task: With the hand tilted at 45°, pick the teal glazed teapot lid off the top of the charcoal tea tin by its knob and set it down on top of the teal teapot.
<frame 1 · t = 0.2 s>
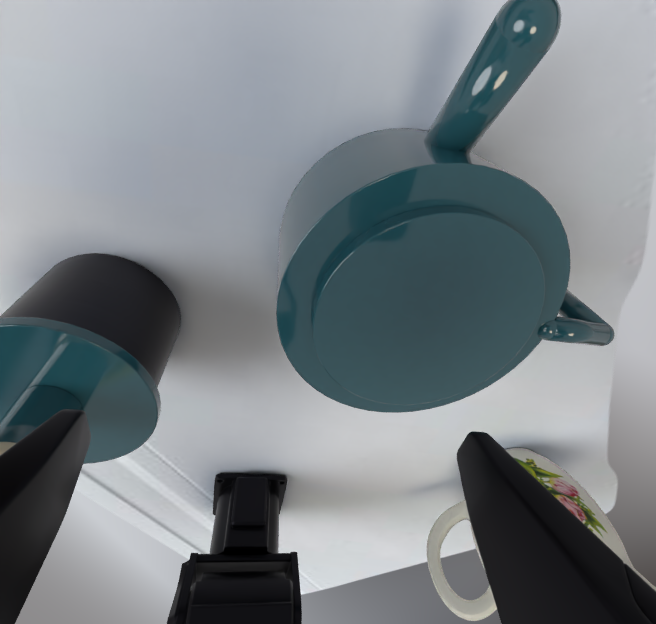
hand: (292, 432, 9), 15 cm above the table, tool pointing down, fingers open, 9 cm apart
tea tin: (113, 311, 24), on the table
teapot: (387, 246, 23), on the table
pitcher: (493, 468, 38), on the table
teapot lid: (58, 395, 18), point 7 cm above the table, touching tea tin
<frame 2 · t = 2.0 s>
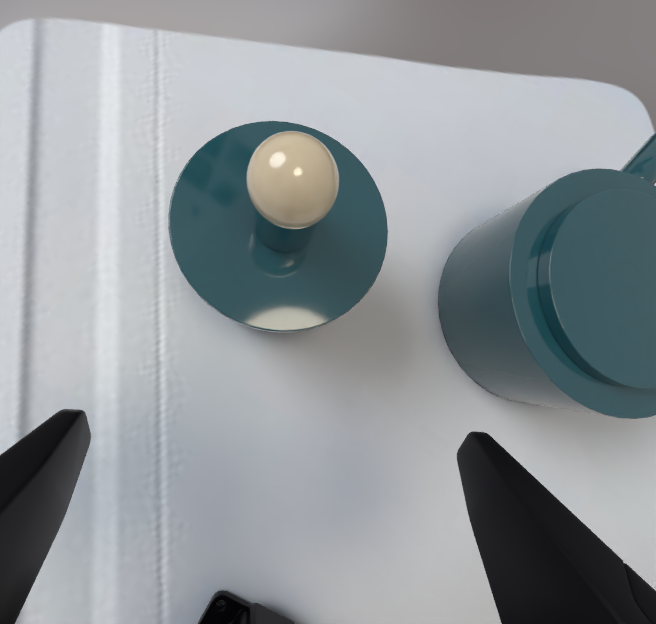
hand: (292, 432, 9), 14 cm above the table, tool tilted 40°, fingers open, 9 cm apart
teapot: (524, 307, 26), on the table
teapot lid: (283, 227, 16), point 7 cm above the table, touching tea tin
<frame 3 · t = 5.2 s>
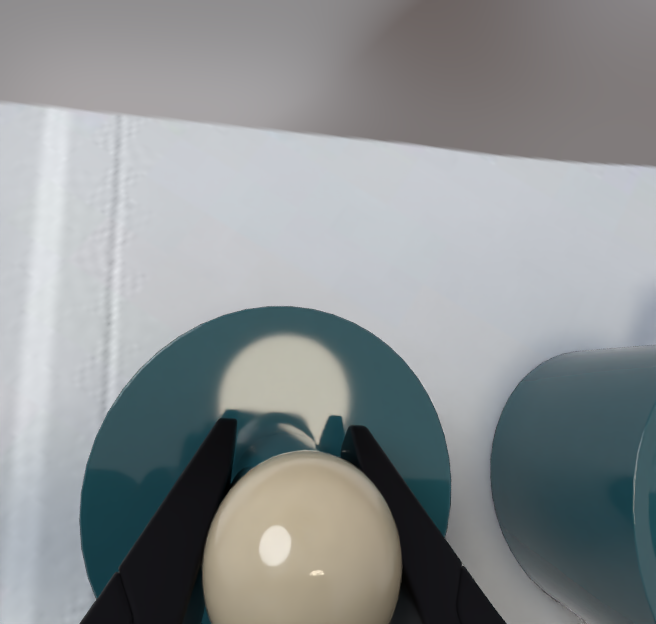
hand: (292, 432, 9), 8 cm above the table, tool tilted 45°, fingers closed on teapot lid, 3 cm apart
teapot: (601, 474, 20), on the table
teapot lid: (281, 480, 10), point 7 cm above the table, touching gripper, tea tin
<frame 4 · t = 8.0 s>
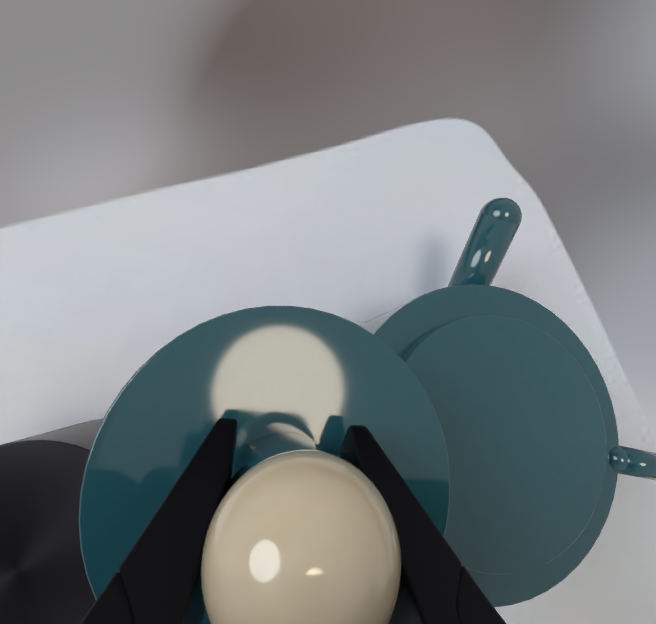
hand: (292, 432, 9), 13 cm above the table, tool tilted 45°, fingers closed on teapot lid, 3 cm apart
tea tin: (101, 501, 19), on the table
teapot: (416, 417, 23), on the table
teapot lid: (280, 479, 10), point 11 cm above the table, touching gripper
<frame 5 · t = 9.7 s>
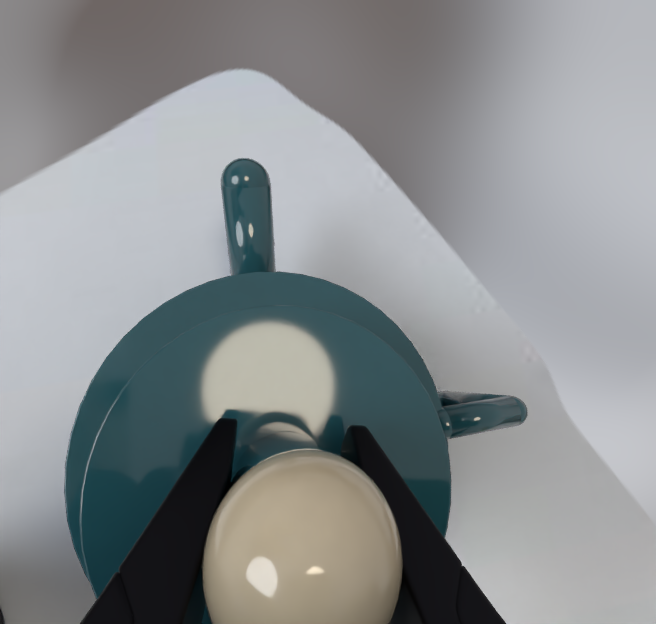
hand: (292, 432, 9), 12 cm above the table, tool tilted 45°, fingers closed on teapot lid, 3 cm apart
teapot: (266, 426, 20), on the table
teapot lid: (281, 479, 10), point 10 cm above the table, touching gripper
when the fingers open (9 cm above the table, at t = 10.6 s): teapot lid stays where it is, resting on teapot.
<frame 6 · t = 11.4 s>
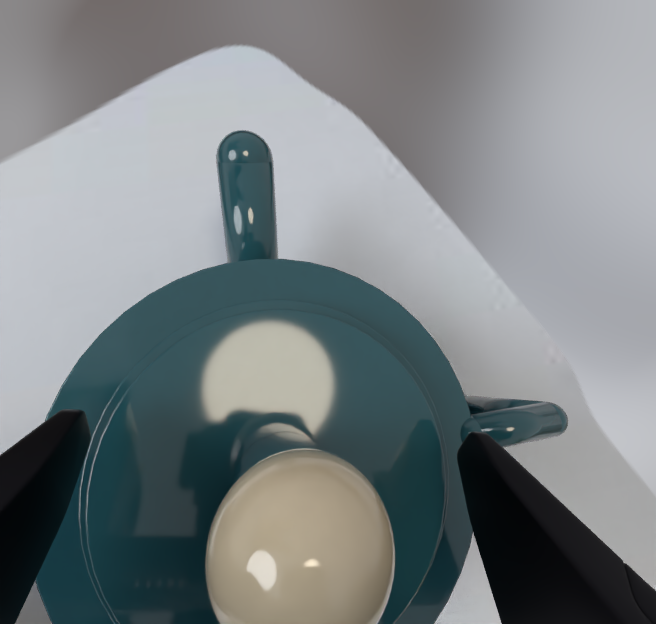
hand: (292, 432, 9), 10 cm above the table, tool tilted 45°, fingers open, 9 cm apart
teapot: (268, 435, 18), on the table
teapot lid: (280, 478, 10), point 8 cm above the table, touching teapot
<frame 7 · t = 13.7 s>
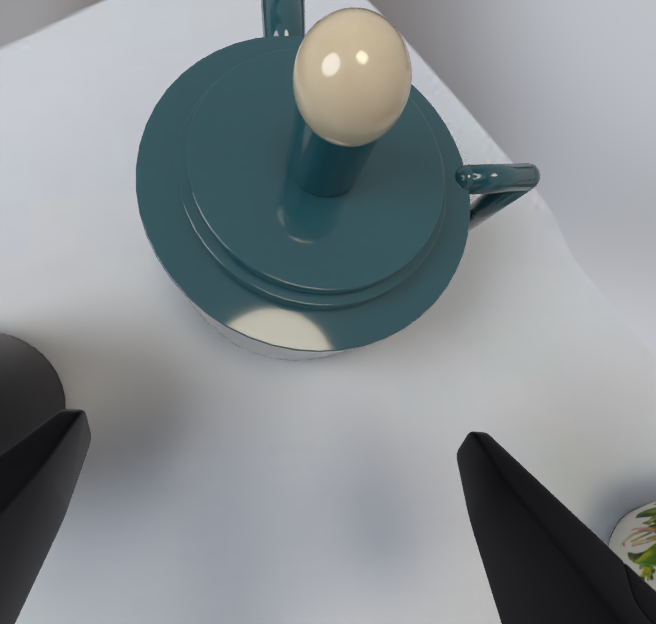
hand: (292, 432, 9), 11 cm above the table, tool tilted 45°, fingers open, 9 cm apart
teapot: (295, 245, 21), on the table
pitcher: (640, 576, 23), on the table
teapot lid: (320, 171, 14), point 8 cm above the table, touching teapot
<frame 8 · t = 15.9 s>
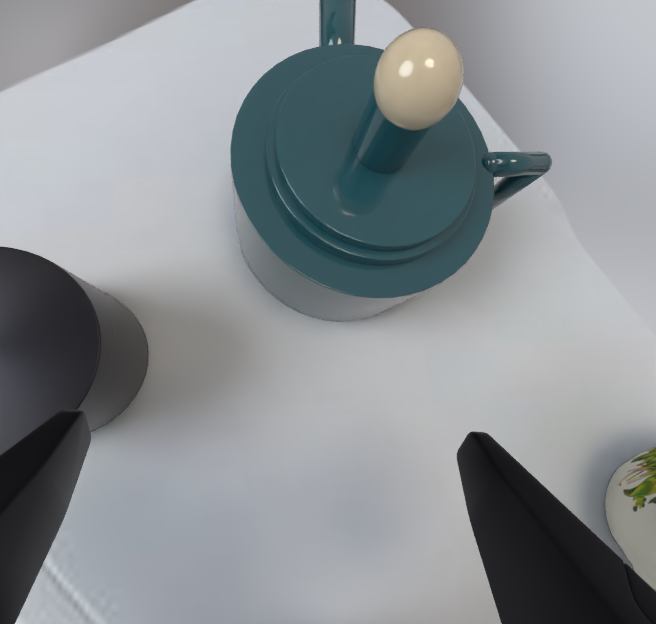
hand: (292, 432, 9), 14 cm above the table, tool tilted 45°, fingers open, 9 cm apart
tea tin: (68, 360, 20), on the table
teapot: (337, 223, 25), on the table
pitcher: (634, 518, 26), on the table
teapot lid: (376, 154, 17), point 8 cm above the table, touching teapot
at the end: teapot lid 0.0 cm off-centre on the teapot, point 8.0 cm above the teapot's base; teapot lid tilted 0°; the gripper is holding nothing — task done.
